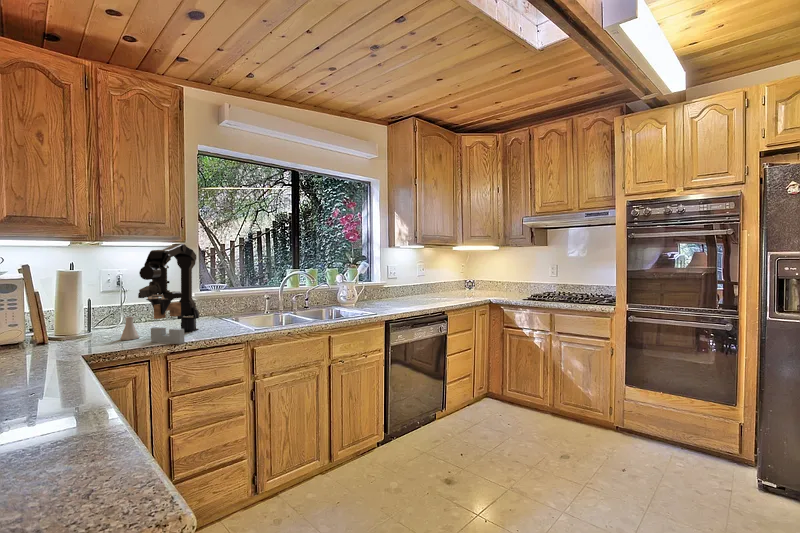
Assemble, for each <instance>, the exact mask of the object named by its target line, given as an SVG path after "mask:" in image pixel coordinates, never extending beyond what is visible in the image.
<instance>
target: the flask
mask: <svg viewBox="0 0 800 533" xmlns="http://www.w3.org/2000/svg"><path fill="white" fill-rule="evenodd" d="M124 319H125V325H124V329H123V331H122V333H121V336H120V340H121V341H131V340H137V339H139V338H140V336H139V333H138V331H137V329H136V327H135V324H134V316H126V317H124Z"/></svg>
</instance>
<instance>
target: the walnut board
mask: <svg viewBox="0 0 800 533" xmlns="http://www.w3.org/2000/svg"><path fill="white" fill-rule="evenodd" d="M167 311H168V312H169V317H177V316H181V302H179V301H177V302H171V303H170V304H169V306H168V308H167V310H166V312H165V314H164V315H161V307H160V304H157V305H154V308H153V319H154V320H155V319H156V320H159V319H166V316H167V315H166V314H167Z"/></svg>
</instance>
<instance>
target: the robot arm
mask: <svg viewBox="0 0 800 533" xmlns="http://www.w3.org/2000/svg"><path fill="white" fill-rule="evenodd" d="M173 257H174V258H175V260H176V263H177V266H178V267H179V269H180V291H171V290H170V289H169V290H168V284H170V280H168V269H169V268H170V267H169V265H168V263H169V262H171V260H172V258H173ZM196 261H197V254H196V252H195V251H194V250H193V249H192V248H190V247H188V246H187V245H186V244H185V243H174V244H172V245H170V246H168V247H165V248H163V249H152V250H150V251H149V253H148V255H147V258H146V260H145V262H144V264H143V265H144V266H142V267H141V268H140V270H139V277H140V278H141V279H142V280H144V281H146V280H147V281H149V282H148V285H147V286H144V287H142V288H140V289H138V291H139V292H138V293H137V294H138V295H137V296H138V297H137V298H138V299H145V298H146V299H145V300H146V301H148V302H150V304H151V305H152V307H153V308H152V309H154V305H157V304H160V307H161V315H164V314H165V312H166V313H167V311H166V310H167V308H168V306H169V304H170V303H172V301H173V300H174V299H179V300H178V302H181V316H176V317H177V320H180V329H184V333H190V332H196V331H199V330H200V329H199V328H197V319H199V318H200V312H199V310H198V308H197V306H196V305H197V304H196V302H195V300H194V299H193V272H192V271H193V268H194V267H195V265H196V263H197V262H196Z"/></svg>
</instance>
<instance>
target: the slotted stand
mask: <svg viewBox="0 0 800 533" xmlns="http://www.w3.org/2000/svg"><path fill="white" fill-rule="evenodd" d="M166 330H167V327H160V326H159V327H157V326H155V327H154V326H153V327H151V328H150V342H151V343H163V344H175V345H181V344H184V343H185V332H184V329H181V328H175V327H174V328H169V329H168V334H166V333H167V331H166Z"/></svg>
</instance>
